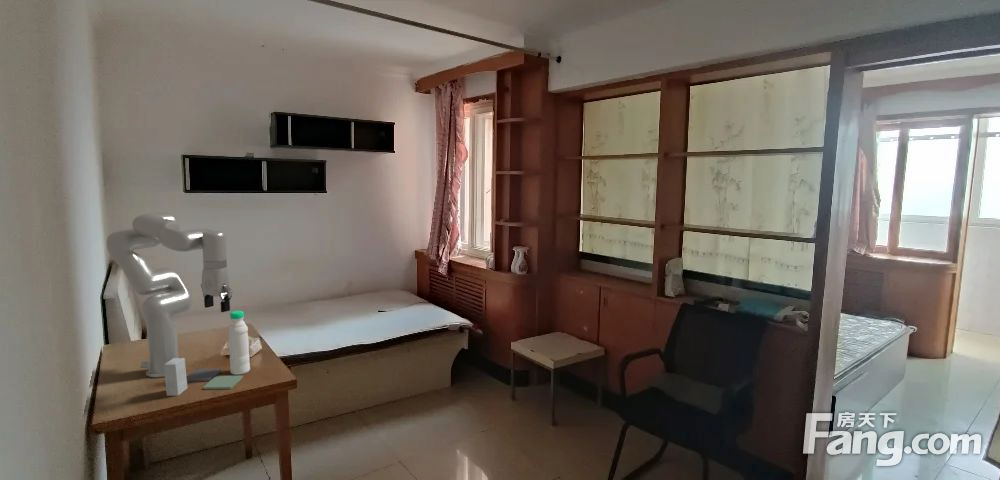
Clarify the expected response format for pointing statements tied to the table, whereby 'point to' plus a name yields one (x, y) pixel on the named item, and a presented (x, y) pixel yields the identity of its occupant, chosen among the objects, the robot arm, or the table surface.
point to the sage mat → (223, 382)
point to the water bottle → (238, 344)
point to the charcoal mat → (203, 374)
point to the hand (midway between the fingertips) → (217, 309)
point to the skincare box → (175, 376)
